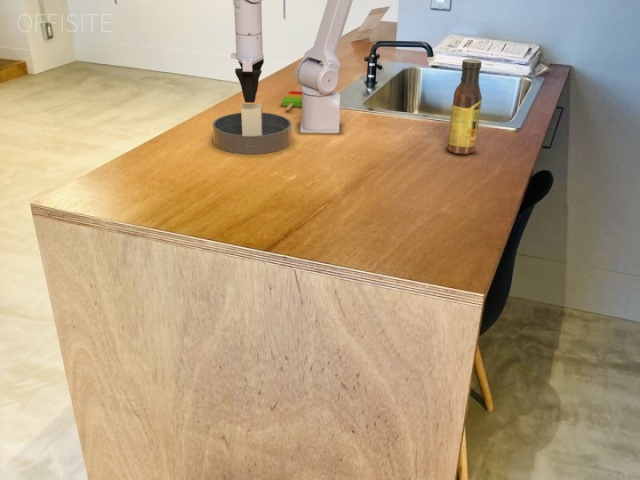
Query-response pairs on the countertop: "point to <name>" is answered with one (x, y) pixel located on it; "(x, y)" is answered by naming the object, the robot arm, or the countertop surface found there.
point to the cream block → (251, 119)
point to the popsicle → (292, 100)
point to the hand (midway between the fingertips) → (251, 97)
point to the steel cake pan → (232, 140)
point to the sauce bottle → (465, 110)
